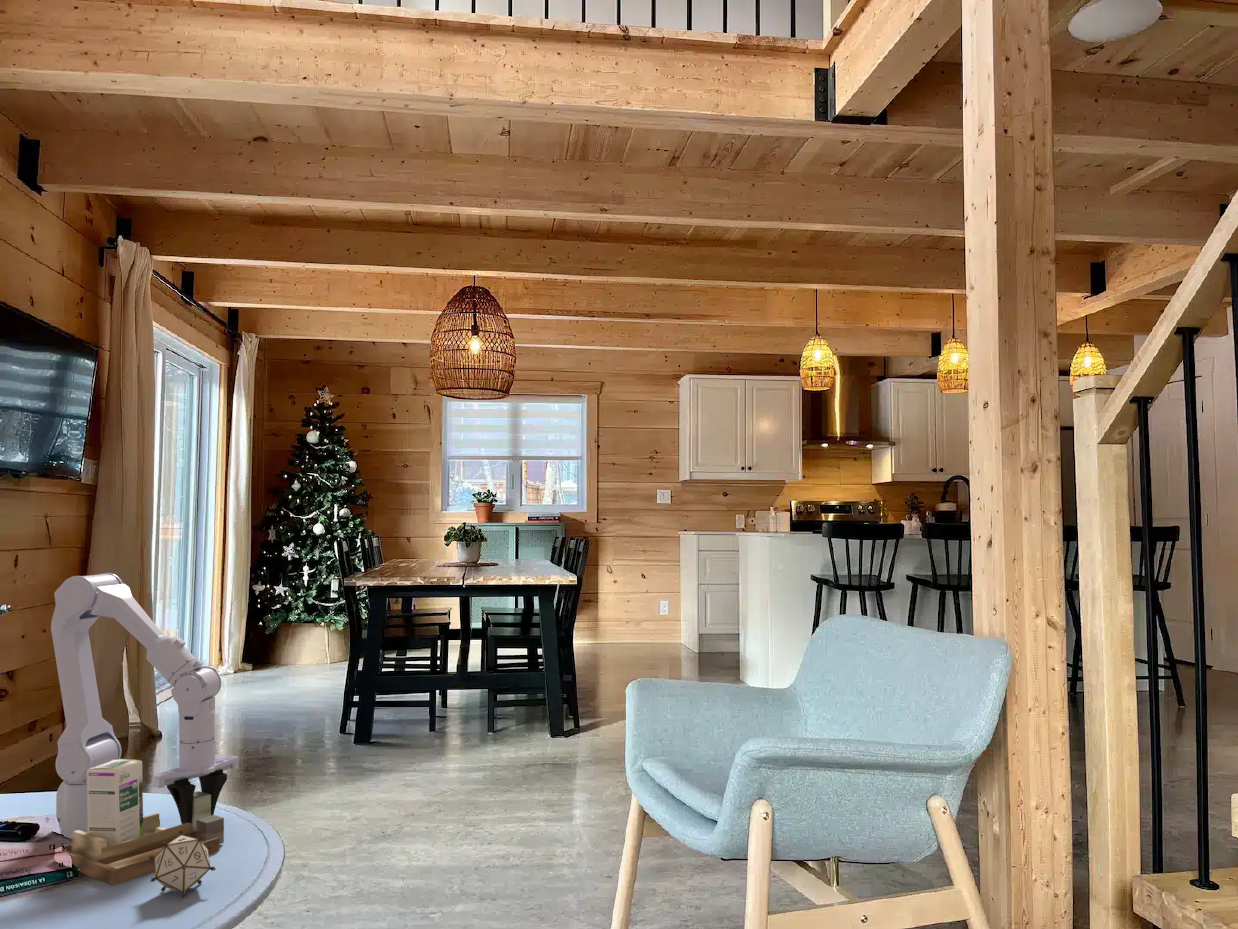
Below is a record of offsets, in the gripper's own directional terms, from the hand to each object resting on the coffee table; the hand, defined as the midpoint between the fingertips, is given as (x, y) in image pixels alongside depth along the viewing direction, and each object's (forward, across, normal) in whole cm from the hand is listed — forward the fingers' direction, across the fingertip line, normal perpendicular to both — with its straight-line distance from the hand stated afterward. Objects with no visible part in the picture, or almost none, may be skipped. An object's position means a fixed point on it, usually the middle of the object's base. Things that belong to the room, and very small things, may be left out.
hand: (197, 820), depth 162 cm
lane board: (+2, -12, -3) cm, 12 cm away
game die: (+2, -16, -23) cm, 28 cm away
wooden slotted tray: (+1, -8, 0) cm, 9 cm away
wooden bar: (+2, -10, -9) cm, 14 cm away
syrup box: (+2, -14, 0) cm, 14 cm away
